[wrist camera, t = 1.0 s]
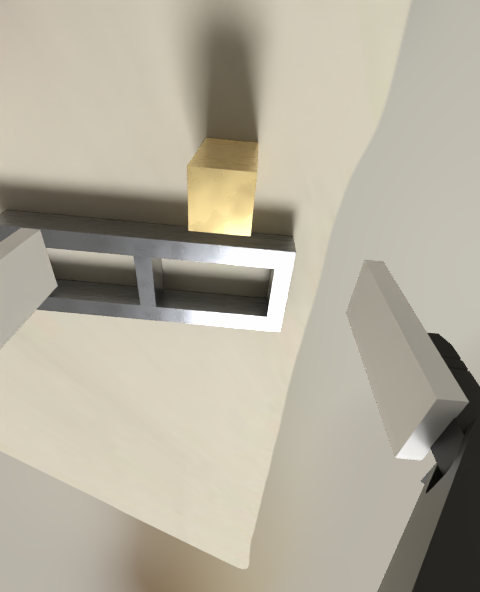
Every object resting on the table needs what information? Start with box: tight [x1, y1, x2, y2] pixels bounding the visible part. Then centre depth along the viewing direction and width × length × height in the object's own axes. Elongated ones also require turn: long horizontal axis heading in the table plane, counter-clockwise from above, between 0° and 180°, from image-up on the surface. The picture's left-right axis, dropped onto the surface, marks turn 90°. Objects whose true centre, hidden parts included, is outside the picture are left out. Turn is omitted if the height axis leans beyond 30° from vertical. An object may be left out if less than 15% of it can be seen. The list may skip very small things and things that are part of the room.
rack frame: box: [0, 210, 296, 332], centre depth 31 cm, size 9×26×3 cm, turn 86°
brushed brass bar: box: [187, 138, 258, 236], centre depth 23 cm, size 4×4×8 cm
